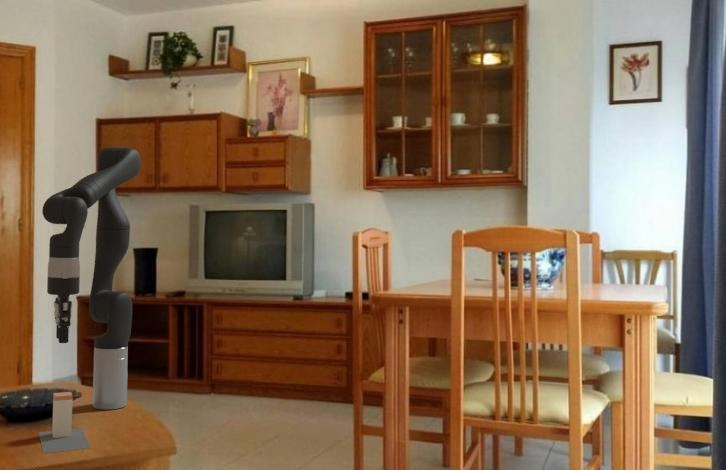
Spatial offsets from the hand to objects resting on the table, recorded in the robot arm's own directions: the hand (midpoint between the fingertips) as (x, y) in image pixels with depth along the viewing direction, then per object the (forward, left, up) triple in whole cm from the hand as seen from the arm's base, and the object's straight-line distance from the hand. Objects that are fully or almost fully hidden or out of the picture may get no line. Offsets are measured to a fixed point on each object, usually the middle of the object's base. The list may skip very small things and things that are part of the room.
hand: (62, 340), depth 179 cm
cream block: (+6, +4, -22) cm, 23 cm away
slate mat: (+9, +7, -23) cm, 25 cm away
